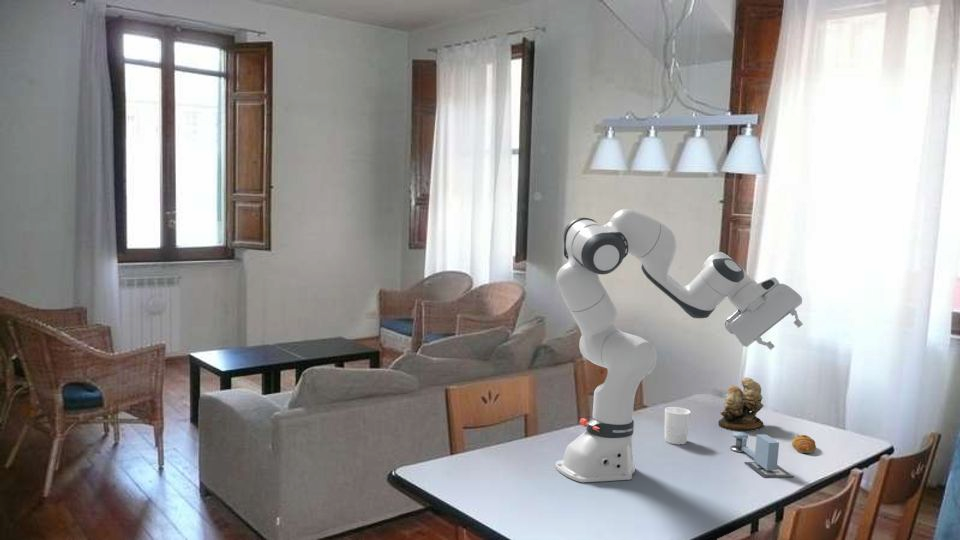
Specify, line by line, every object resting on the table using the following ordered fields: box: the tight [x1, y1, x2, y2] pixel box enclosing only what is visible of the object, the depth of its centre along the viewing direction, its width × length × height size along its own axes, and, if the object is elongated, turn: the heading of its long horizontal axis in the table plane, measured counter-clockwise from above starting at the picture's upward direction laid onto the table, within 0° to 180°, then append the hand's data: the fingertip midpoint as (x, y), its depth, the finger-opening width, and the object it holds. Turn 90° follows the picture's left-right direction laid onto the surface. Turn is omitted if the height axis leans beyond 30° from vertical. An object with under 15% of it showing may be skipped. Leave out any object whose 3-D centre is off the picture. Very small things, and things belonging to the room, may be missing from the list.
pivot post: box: [730, 438, 747, 454], centre depth 227 cm, size 5×5×4 cm
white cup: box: [663, 406, 692, 446], centre depth 233 cm, size 8×8×10 cm
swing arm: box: [732, 431, 780, 470], centre depth 219 cm, size 21×4×8 cm, turn 8°
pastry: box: [791, 434, 817, 455], centre depth 231 cm, size 9×7×4 cm
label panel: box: [743, 461, 794, 479], centre depth 211 cm, size 9×11×1 cm
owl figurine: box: [718, 376, 764, 432], centre depth 252 cm, size 18×12×17 cm, turn 120°
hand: (786, 337), depth 200 cm, fingers open, 8 cm apart
